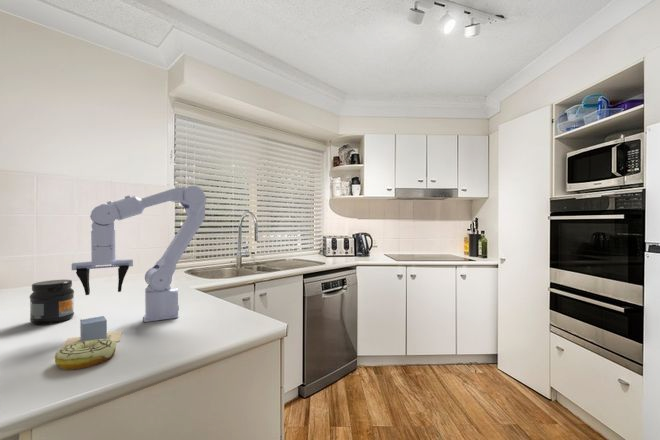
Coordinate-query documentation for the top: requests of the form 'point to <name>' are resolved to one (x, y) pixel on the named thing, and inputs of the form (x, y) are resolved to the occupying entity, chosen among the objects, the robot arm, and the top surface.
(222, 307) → the top surface
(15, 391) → the top surface
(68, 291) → the supplement container
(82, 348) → the decorated donut
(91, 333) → the powder blue cube
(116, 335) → the letter card
